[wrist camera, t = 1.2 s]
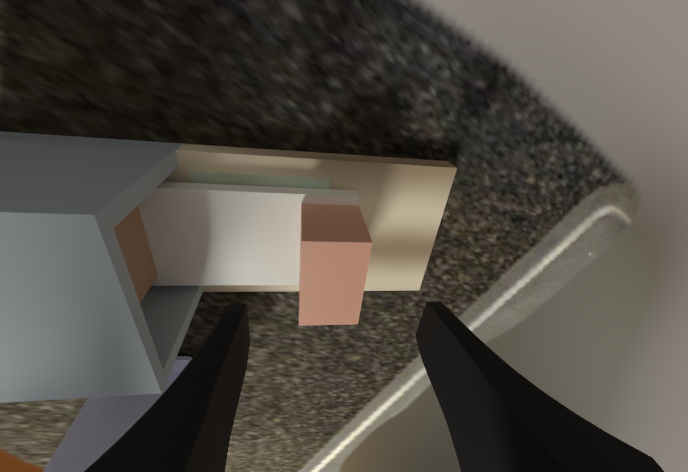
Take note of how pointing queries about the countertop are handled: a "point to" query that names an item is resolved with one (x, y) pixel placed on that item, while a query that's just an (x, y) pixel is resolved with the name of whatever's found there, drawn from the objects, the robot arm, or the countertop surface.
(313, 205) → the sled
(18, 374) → the tunnel
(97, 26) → the countertop surface
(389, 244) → the board
